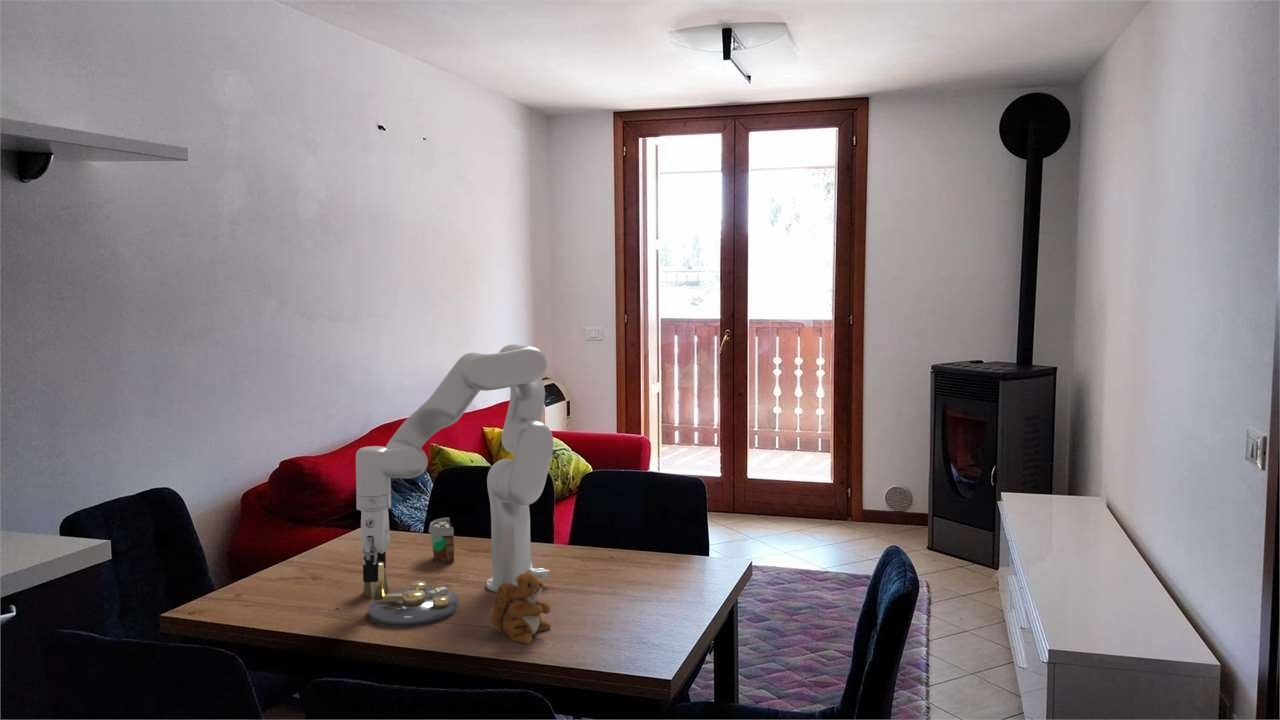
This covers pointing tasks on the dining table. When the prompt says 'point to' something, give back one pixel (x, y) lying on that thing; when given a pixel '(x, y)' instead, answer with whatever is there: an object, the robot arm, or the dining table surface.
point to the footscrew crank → (407, 597)
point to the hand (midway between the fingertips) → (374, 575)
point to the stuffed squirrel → (520, 608)
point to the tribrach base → (415, 607)
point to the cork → (368, 586)
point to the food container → (442, 540)
